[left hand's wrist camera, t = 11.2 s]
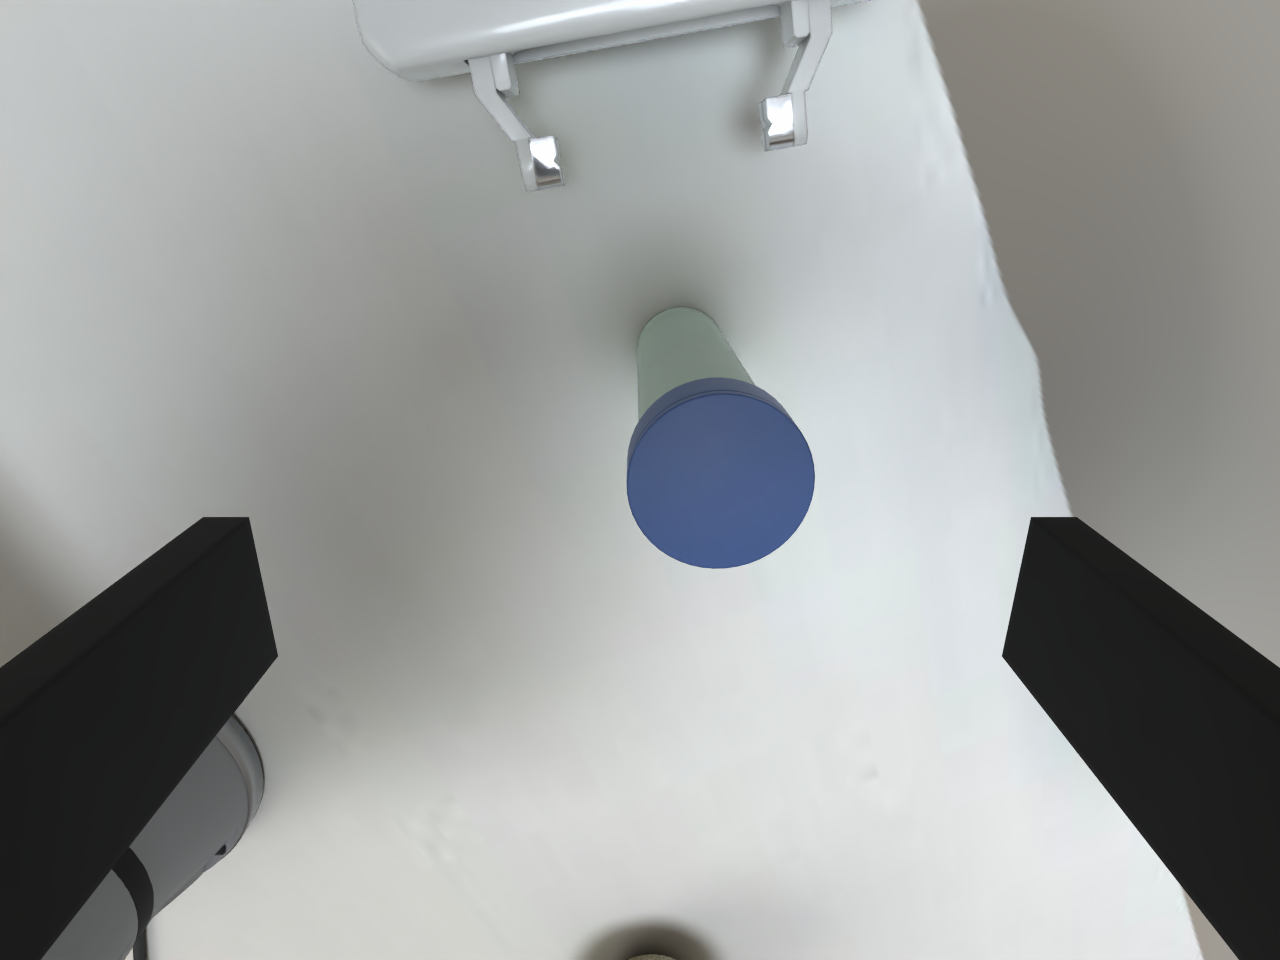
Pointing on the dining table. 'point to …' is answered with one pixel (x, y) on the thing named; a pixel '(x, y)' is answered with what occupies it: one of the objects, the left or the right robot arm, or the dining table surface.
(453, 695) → the dining table surface
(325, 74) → the dining table surface
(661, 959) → the fruit
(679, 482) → the lid
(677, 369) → the pale green cylinder
